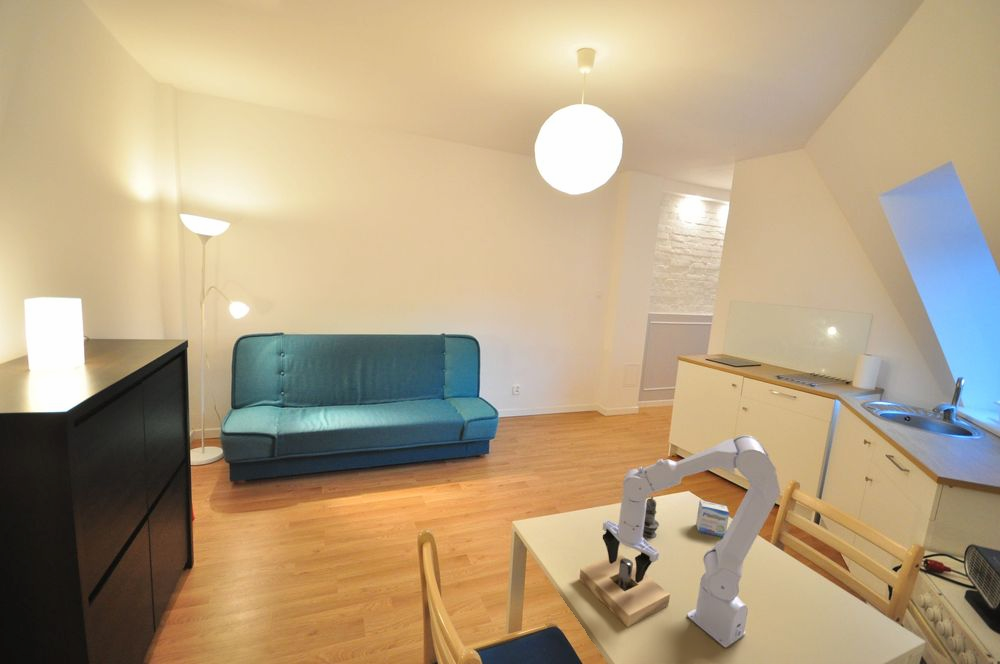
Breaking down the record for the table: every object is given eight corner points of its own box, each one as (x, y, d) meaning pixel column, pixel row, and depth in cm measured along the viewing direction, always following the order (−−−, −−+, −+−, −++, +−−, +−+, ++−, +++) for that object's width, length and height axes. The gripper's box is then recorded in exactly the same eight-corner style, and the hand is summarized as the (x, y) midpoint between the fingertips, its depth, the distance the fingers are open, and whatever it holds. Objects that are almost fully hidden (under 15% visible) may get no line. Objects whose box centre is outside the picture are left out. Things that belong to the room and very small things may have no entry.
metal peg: (631, 593, 102) (635, 563, 101) (624, 598, 100) (628, 568, 99) (621, 585, 105) (624, 556, 103) (614, 590, 103) (617, 561, 102)
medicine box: (697, 531, 130) (701, 506, 129) (695, 524, 134) (699, 499, 133) (725, 538, 128) (729, 512, 127) (722, 530, 132) (726, 504, 131)
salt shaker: (654, 528, 130) (659, 492, 129) (659, 540, 124) (665, 503, 123) (635, 525, 131) (640, 490, 129) (639, 537, 125) (644, 500, 123)
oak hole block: (668, 605, 99) (670, 594, 99) (627, 627, 92) (629, 615, 92) (618, 563, 113) (619, 553, 112) (579, 579, 106) (580, 568, 105)
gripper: (668, 530, 96) (661, 582, 98) (617, 500, 108) (611, 548, 110) (651, 540, 92) (644, 595, 94) (599, 508, 103) (594, 558, 105)
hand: (625, 570), depth 102 cm, fingers open, 7 cm apart
